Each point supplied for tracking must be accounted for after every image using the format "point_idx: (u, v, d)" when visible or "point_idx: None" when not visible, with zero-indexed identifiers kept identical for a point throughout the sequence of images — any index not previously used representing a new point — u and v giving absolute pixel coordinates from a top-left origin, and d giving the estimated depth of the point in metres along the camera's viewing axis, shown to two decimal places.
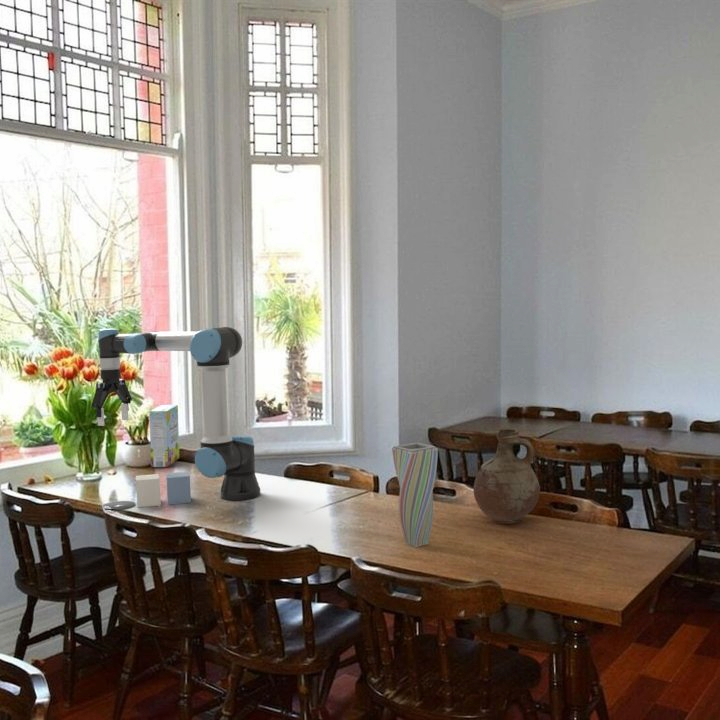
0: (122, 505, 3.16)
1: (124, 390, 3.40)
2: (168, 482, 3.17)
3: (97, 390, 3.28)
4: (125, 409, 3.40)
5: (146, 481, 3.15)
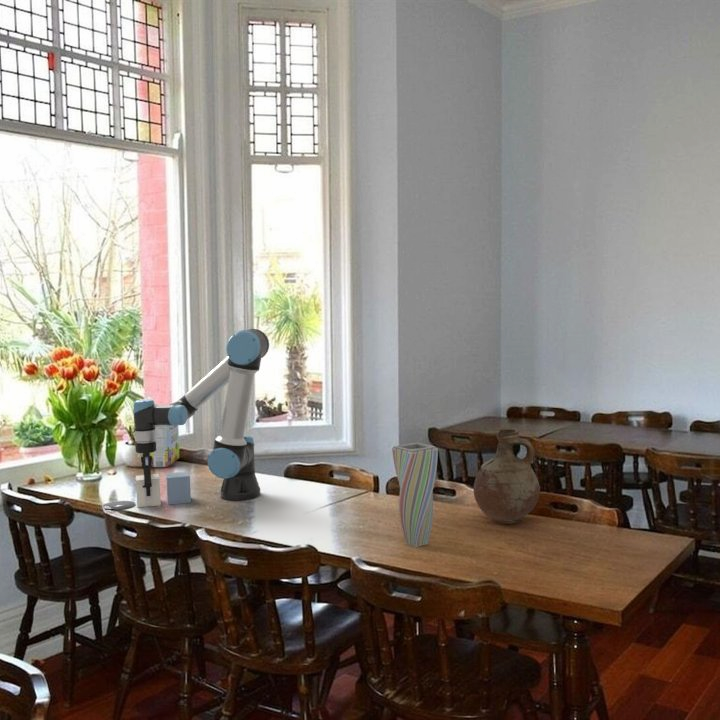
0: (122, 505, 3.16)
1: None
2: (168, 482, 3.17)
3: (146, 468, 3.12)
4: None
5: None
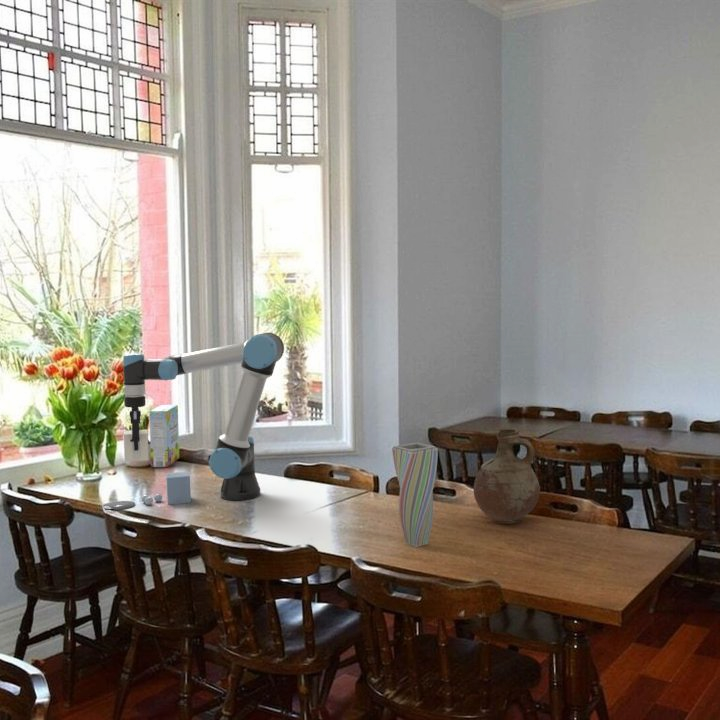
0: (122, 505, 3.16)
1: None
2: (168, 482, 3.17)
3: (134, 422, 3.10)
4: None
5: None
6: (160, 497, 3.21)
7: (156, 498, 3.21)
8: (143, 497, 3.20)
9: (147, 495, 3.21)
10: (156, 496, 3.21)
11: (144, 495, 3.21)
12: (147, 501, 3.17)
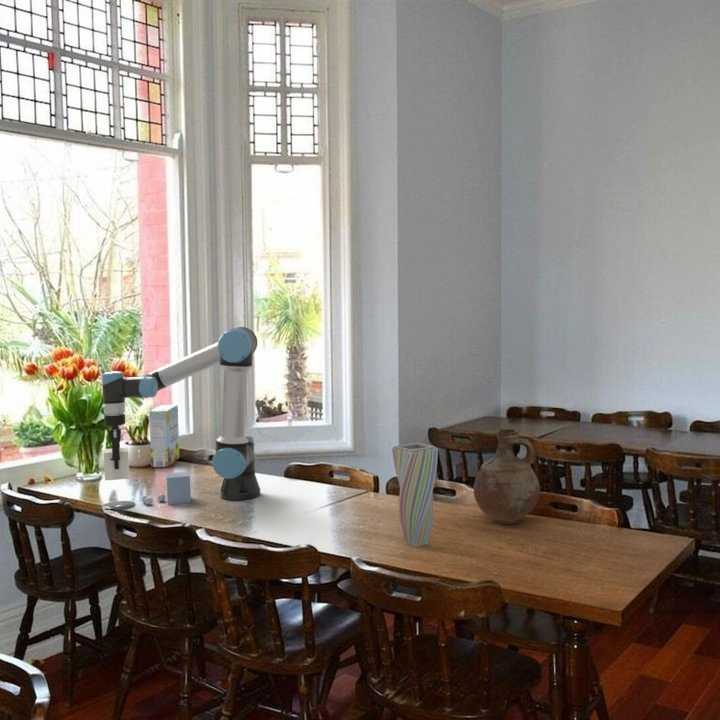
0: (122, 505, 3.16)
1: None
2: (168, 482, 3.17)
3: (114, 440, 3.08)
4: None
5: None
6: (163, 499, 3.22)
7: (160, 497, 3.21)
8: (143, 497, 3.20)
9: (147, 495, 3.21)
10: (161, 495, 3.21)
11: (145, 495, 3.20)
12: (147, 501, 3.17)
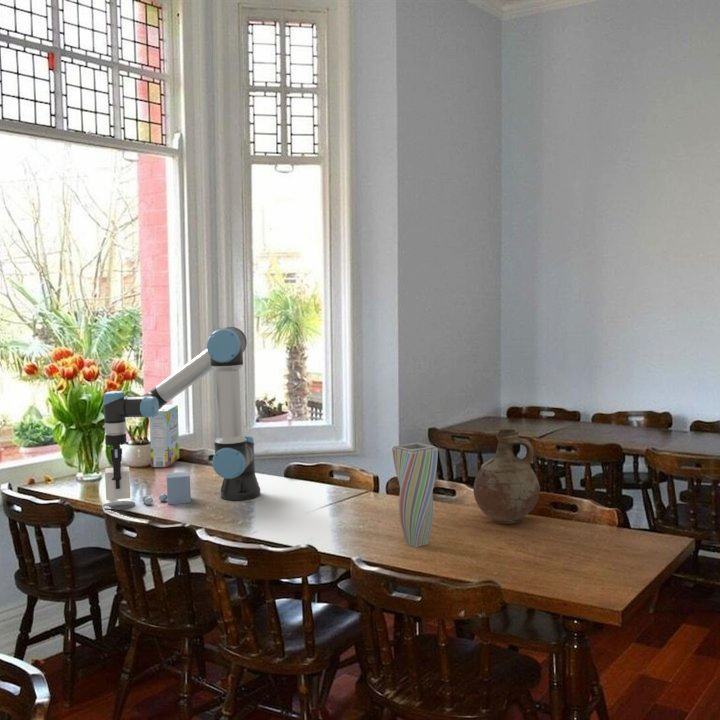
0: (122, 505, 3.16)
1: None
2: (168, 482, 3.17)
3: (115, 460, 3.09)
4: None
5: None
6: (164, 500, 3.22)
7: (162, 497, 3.21)
8: (144, 497, 3.20)
9: (148, 496, 3.21)
10: (164, 496, 3.21)
11: (145, 495, 3.20)
12: (147, 501, 3.17)
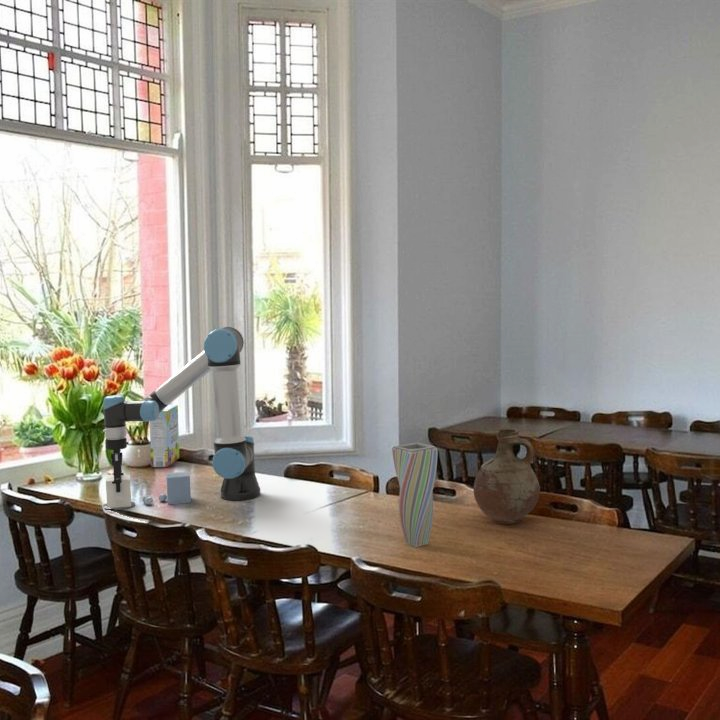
0: None
1: None
2: (168, 482, 3.17)
3: (115, 463, 3.09)
4: None
5: None
6: (164, 499, 3.22)
7: (161, 497, 3.21)
8: (144, 498, 3.19)
9: (148, 496, 3.20)
10: (163, 496, 3.21)
11: (145, 496, 3.20)
12: (147, 501, 3.17)
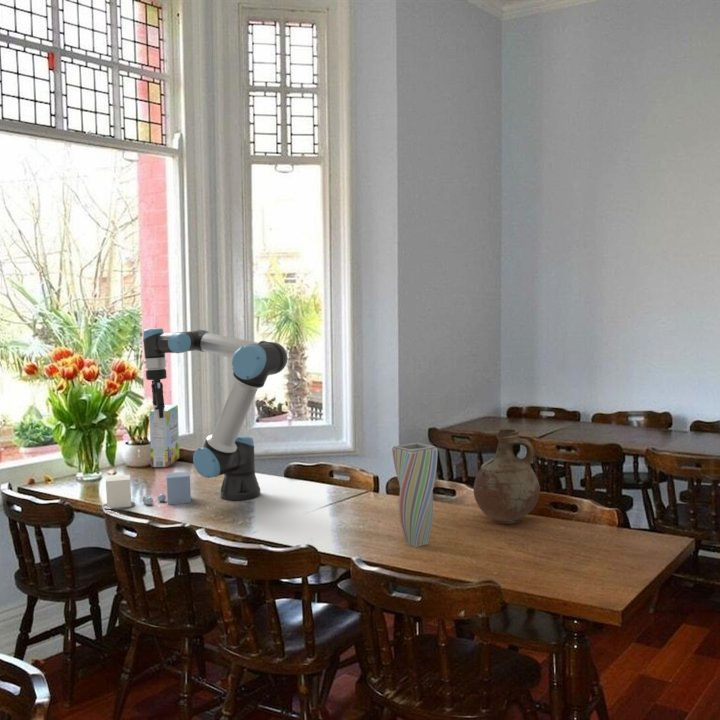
0: None
1: None
2: (168, 482, 3.17)
3: (158, 390, 3.20)
4: None
5: (116, 482, 3.12)
6: (163, 499, 3.22)
7: (160, 497, 3.21)
8: (145, 498, 3.19)
9: (149, 496, 3.20)
10: (162, 496, 3.21)
11: (146, 496, 3.20)
12: (147, 501, 3.17)
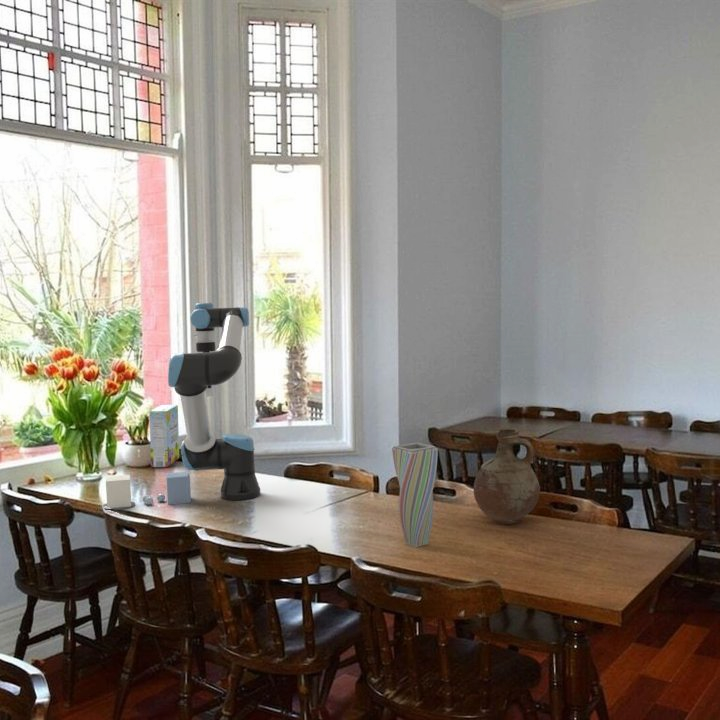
0: None
1: None
2: (168, 482, 3.17)
3: None
4: None
5: (116, 482, 3.12)
6: (163, 499, 3.22)
7: (159, 497, 3.21)
8: (145, 497, 3.19)
9: (149, 496, 3.20)
10: (161, 496, 3.21)
11: (146, 496, 3.20)
12: (147, 501, 3.17)
